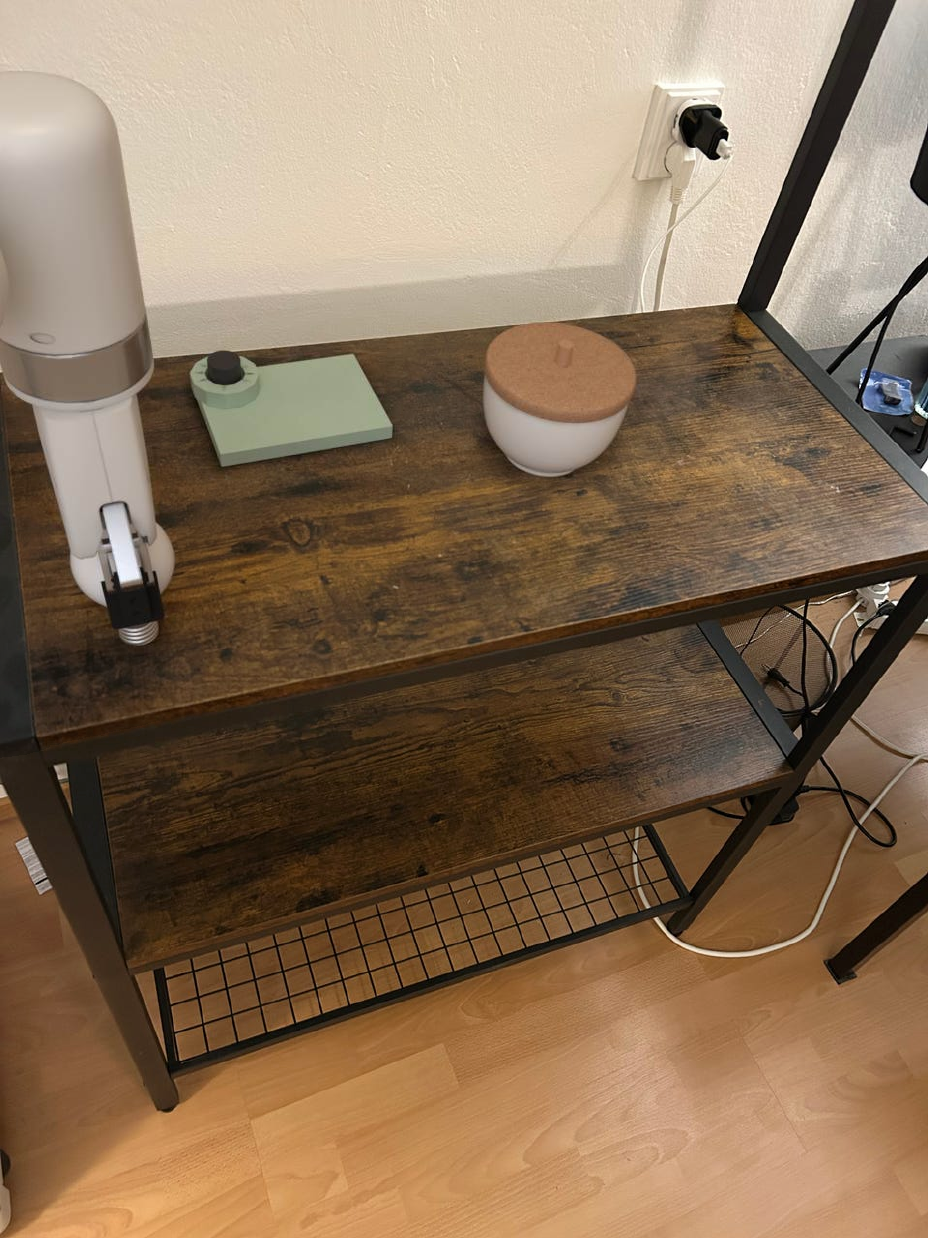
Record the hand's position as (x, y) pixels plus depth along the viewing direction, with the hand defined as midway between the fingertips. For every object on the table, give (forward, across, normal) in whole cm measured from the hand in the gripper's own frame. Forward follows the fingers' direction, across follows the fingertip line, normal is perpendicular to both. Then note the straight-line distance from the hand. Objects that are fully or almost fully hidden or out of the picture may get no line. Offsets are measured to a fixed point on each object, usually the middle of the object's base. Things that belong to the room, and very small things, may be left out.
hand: (127, 576), depth 63 cm
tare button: (+4, -25, +12) cm, 28 cm away
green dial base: (+6, -22, +17) cm, 28 cm away
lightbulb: (+6, 0, 0) cm, 6 cm away
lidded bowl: (+6, -11, +37) cm, 39 cm away
